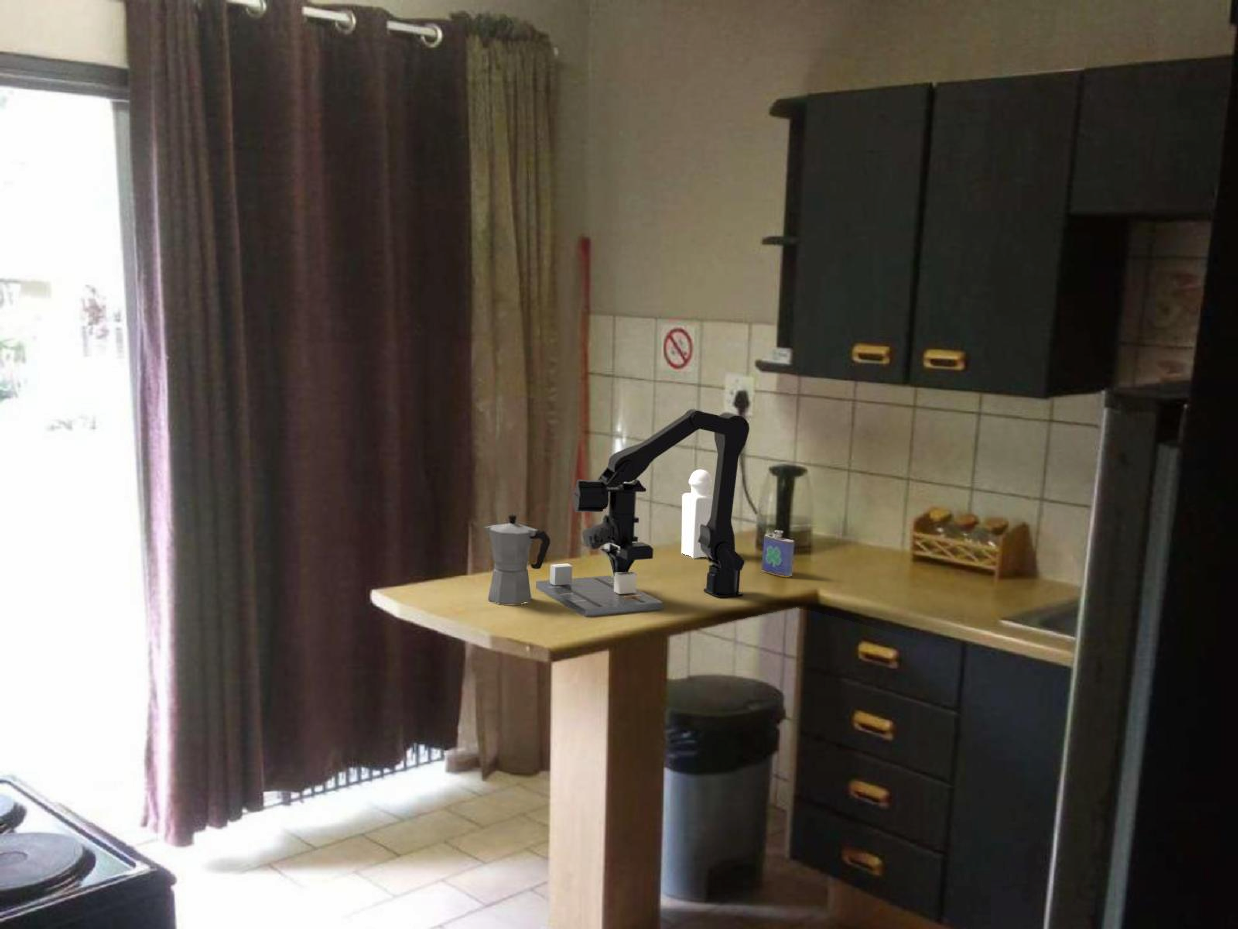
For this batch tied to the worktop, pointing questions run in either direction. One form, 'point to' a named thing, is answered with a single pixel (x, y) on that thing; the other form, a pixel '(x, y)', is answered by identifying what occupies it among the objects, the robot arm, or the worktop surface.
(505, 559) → the coffeepot
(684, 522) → the white square decanter
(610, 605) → the panel
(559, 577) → the block white
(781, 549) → the flask
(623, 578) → the block
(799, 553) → the worktop surface
